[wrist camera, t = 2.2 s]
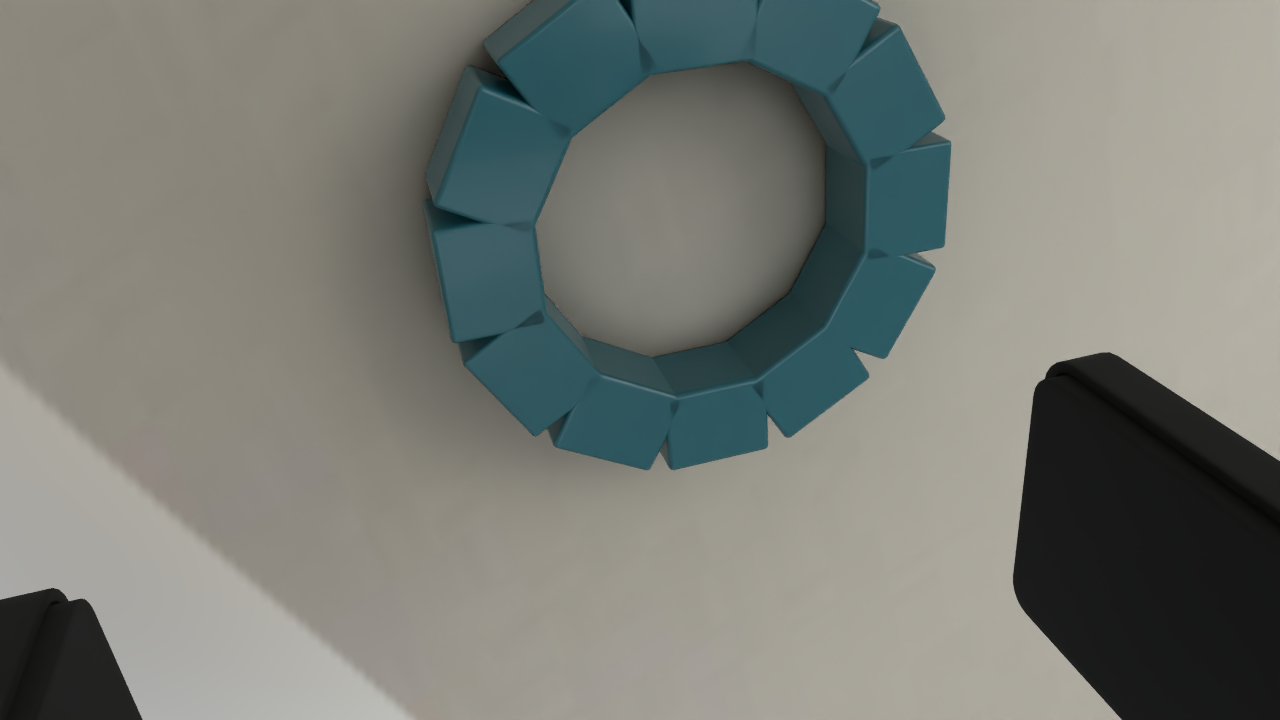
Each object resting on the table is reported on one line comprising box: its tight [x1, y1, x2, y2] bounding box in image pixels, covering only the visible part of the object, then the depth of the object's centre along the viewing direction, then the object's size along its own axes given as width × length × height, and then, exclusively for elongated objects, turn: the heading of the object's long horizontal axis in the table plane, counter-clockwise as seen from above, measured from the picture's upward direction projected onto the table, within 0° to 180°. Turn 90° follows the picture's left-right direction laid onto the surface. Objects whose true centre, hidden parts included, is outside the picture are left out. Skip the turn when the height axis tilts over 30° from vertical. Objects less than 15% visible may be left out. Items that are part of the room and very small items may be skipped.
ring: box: [423, 0, 951, 470], centre depth 17 cm, size 9×9×2 cm
